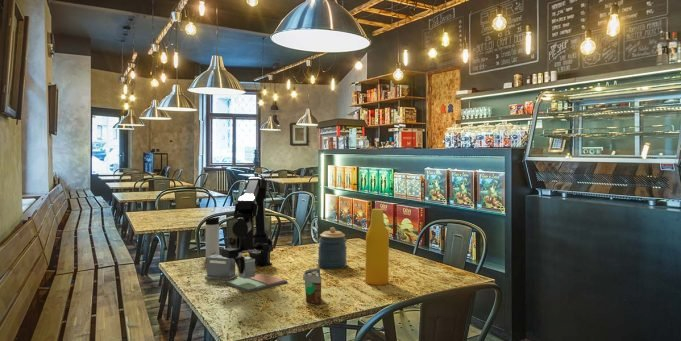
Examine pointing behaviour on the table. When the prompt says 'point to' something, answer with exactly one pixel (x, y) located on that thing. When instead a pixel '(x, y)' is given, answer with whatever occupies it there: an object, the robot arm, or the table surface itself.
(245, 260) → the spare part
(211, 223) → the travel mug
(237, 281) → the sorting board
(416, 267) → the table surface
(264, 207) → the robot arm
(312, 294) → the food container
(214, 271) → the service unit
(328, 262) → the canister
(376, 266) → the beer bottle
